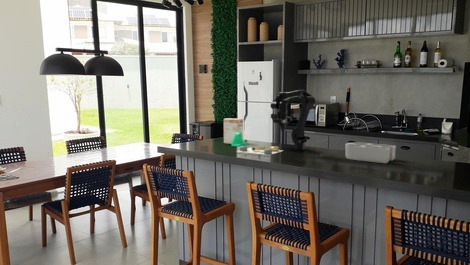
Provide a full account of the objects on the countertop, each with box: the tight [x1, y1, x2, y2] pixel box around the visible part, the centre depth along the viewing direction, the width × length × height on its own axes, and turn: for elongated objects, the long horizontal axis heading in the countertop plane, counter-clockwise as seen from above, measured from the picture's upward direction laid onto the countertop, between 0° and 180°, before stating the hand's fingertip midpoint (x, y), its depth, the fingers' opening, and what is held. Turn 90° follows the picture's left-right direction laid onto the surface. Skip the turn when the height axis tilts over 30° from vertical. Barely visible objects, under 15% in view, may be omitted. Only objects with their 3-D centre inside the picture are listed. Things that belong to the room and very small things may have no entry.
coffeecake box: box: [223, 117, 244, 145], centre depth 316 cm, size 15×7×20 cm, turn 46°
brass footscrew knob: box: [251, 145, 280, 151], centre depth 271 cm, size 18×6×3 cm, turn 97°
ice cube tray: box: [344, 142, 397, 164], centre depth 249 cm, size 17×28×9 cm, turn 51°
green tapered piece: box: [230, 133, 250, 148], centre depth 301 cm, size 12×8×10 cm, turn 138°
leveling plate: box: [235, 145, 283, 158], centre depth 272 cm, size 26×19×4 cm
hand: (282, 131), depth 290 cm, fingers closed
